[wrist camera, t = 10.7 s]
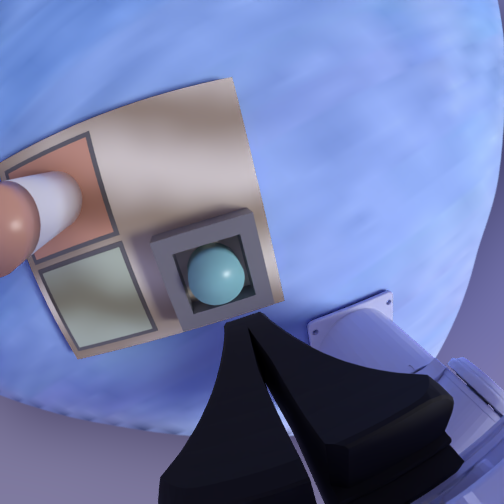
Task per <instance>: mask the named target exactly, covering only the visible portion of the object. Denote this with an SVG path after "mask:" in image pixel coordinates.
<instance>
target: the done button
mask: <svg viewBox="0 0 504 504" xmlns="http://www.w3.org/2000/svg"><path fill="white" fill-rule="evenodd" d="M187 270H188V282H189V287H190V290H191V292H192V294H193V295H194V296H195V297H196V298H197V299H198V300H200V301H201V302H203V303H206V304H209V305H221V304H225V303H228V302H230V301H231V300H233V299H234V298H235V297H236V296H237V295H238V294H239V293H240V292H241V290H242V288H243V285H244V280H245V276H244V271H243V268H242V266H241V264H240V262H239V260H238V259H237V257H236V255H235V253H234V252H233V251H232V250H231V249H230V248H229V247H228V246H226V245H224V244H221V243H209V244H205V245H202V246H200V247H198V248H197V249H196V250H195V251H194V252H193V253H192V254H191V256H190V258H189V260H188V265H187Z"/></svg>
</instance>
